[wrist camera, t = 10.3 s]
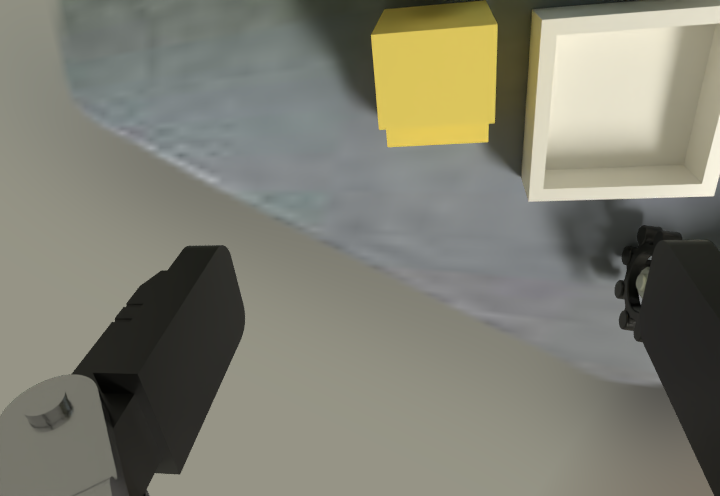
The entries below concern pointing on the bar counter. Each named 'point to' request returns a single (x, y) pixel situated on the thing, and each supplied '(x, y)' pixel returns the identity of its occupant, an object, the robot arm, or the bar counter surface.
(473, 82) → the block
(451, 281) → the bar counter surface
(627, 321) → the valve
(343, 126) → the bar counter surface
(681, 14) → the tray
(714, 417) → the robot arm
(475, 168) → the bar counter surface
